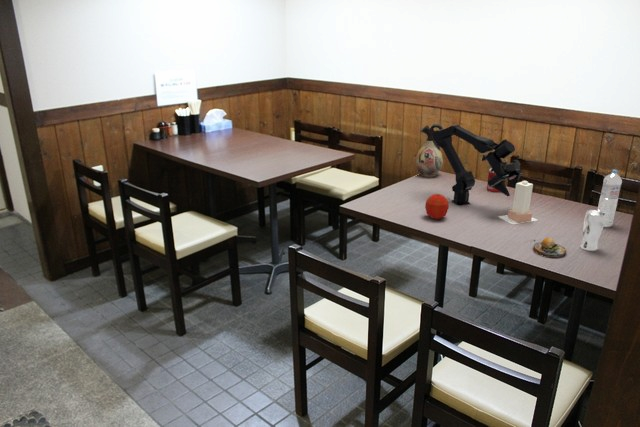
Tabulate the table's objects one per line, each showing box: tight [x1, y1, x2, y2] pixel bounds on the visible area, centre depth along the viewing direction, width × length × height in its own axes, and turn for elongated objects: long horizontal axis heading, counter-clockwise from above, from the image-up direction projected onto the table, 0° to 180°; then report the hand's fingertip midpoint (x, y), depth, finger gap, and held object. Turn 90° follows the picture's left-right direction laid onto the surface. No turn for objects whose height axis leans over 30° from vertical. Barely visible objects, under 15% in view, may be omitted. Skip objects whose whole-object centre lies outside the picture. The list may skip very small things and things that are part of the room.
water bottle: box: [597, 169, 623, 229], centre depth 220 cm, size 7×7×25 cm
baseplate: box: [497, 214, 538, 225], centre depth 229 cm, size 14×10×1 cm
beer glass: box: [579, 209, 606, 252], centre depth 200 cm, size 7×7×15 cm
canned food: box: [486, 167, 501, 193], centre depth 267 cm, size 8×8×11 cm
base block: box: [507, 209, 533, 224], centre depth 227 cm, size 7×7×4 cm
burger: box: [532, 237, 567, 259], centre depth 199 cm, size 12×12×8 cm
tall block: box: [511, 180, 534, 215], centre depth 224 cm, size 5×5×14 cm
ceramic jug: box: [414, 123, 444, 178], centre depth 289 cm, size 17×15×30 cm
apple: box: [424, 193, 450, 220], centre depth 231 cm, size 10×10×12 cm
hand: (514, 193), depth 227 cm, fingers open, 9 cm apart
